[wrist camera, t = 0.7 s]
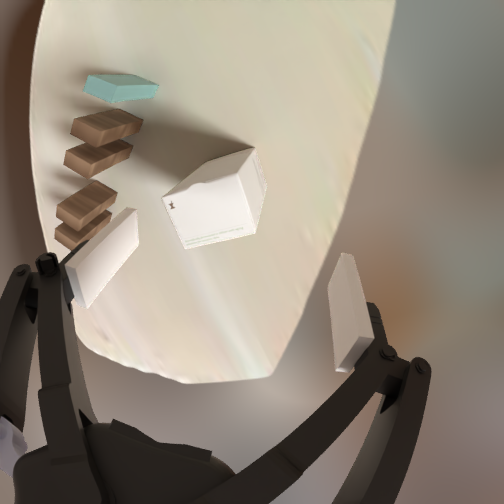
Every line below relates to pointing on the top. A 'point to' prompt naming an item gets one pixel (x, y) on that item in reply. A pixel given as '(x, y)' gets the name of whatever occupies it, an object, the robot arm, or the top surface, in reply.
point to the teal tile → (119, 87)
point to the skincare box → (218, 200)
